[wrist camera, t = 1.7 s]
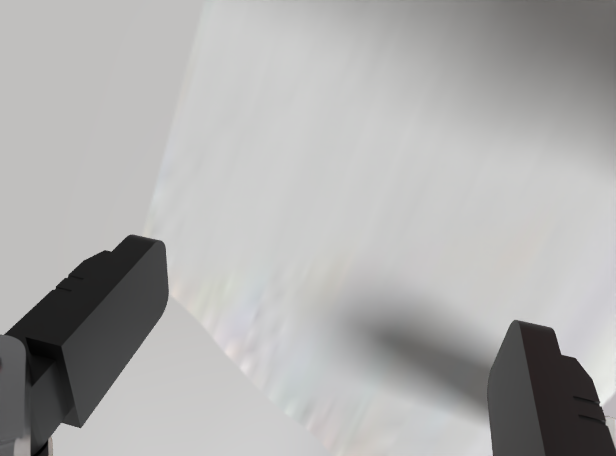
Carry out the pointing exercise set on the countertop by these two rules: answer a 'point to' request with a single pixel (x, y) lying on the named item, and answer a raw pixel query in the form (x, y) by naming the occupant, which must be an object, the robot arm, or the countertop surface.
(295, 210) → the countertop surface
